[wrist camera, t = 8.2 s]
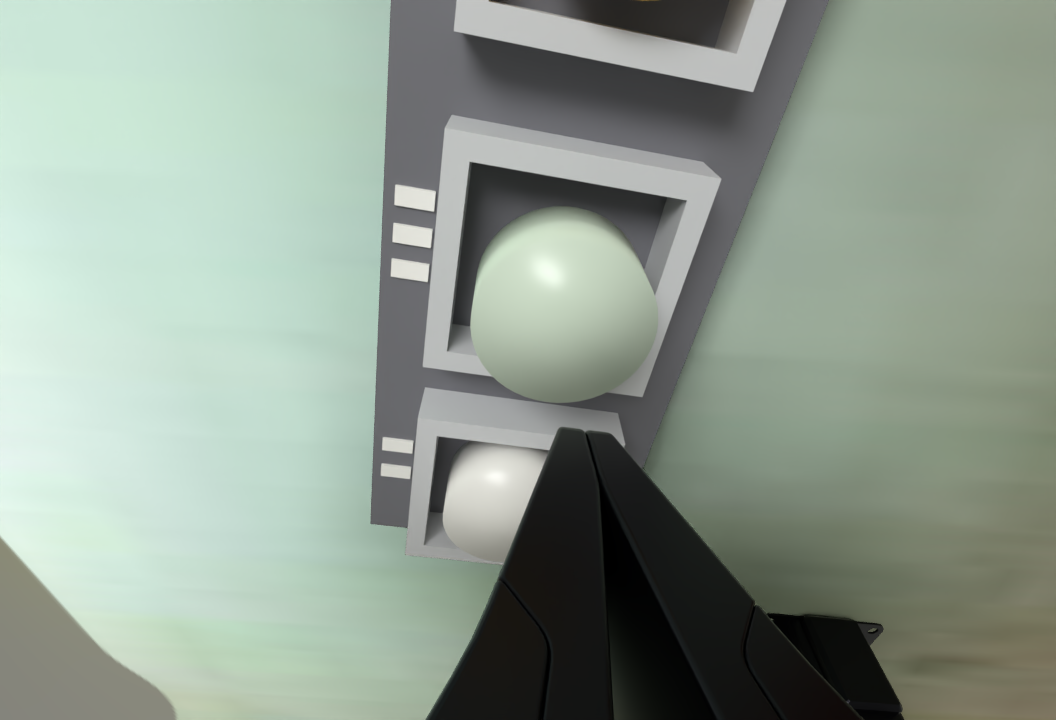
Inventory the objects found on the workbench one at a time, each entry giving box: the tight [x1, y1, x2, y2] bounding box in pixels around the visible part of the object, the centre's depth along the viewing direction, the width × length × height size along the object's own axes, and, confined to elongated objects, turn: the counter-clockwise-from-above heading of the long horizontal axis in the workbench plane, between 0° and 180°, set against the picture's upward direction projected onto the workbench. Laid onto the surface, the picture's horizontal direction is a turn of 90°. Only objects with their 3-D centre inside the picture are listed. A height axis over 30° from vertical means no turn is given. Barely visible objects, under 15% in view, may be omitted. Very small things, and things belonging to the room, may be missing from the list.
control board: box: [371, 0, 829, 565], centre depth 15 cm, size 23×9×3 cm, turn 170°
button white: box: [443, 440, 549, 562], centre depth 18 cm, size 4×4×2 cm
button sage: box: [470, 206, 658, 403], centre depth 13 cm, size 4×4×2 cm
